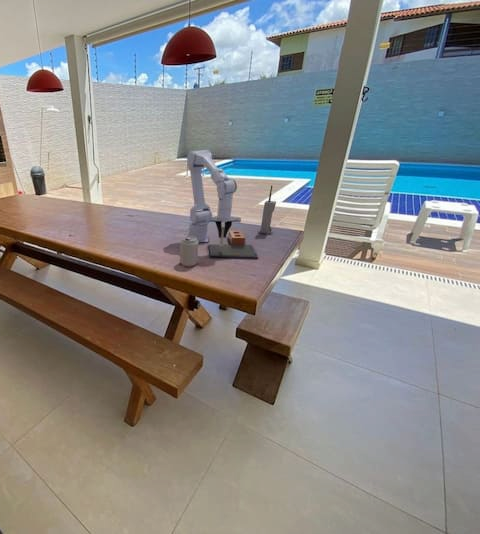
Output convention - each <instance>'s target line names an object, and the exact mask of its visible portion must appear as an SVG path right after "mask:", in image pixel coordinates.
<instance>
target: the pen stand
mask: <svg viewBox="0 0 480 534" xmlns="http://www.w3.org/2000/svg"><path fill="white" fill-rule="evenodd" d="M228 240H229V244H230V245H246V244H245V243H246V236H245V234H244V232H243V230H228Z"/></svg>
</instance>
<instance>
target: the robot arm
mask: <svg viewBox="0 0 480 534" xmlns="http://www.w3.org/2000/svg"><path fill="white" fill-rule="evenodd" d="M212 156H213V155H212V152H211V150H210V149H201V150H190V151H188V154H187V157H186V162H187V169H188V171H189V174H190V181H191V182H190V183H191V189H192V197H193V204H194V205H193V206H192V207H191V208H190V209H189V212H190V213H189V220H190V223H189V225H188V234H187V236H193V237H196V238H197V240H198V242H199V243H208V242H209V241H208V240H209V239H208V227H209V225H208V224H210V223H215V226H216V228H217V233H218V238H219V239H220V238H221V227H223V225H222V223H224V227H225V231H224V239H226V238H227V235H228V233H229V231H230V228H231V227H232V225H233V223H241V222H242V218H241V217H242V216H241V217H240V216H232V209H233V207H232V206H233V197H234V194H235V193H236V192H237V189H238V184H237V182H236V180H235V179H233V178H229V176H228V175H227V173H226V172H225V170H224V169H223V168H218V166H217V165H216V163H215V162H214V160H213V159H212V158H213V157H212ZM204 169H205V170H207V171H208V172H209V173H210V179H211V180H212V182H213V183H214V184H215V186H216V192H217V198H218V201H217V202H218V203H217V204H218V205H217V214H216V215H217V216H213V213H212V211H211V206H210V205H209V204H207V203H206V199H205V193H204V185H203V177H202V171H203V170H204Z"/></svg>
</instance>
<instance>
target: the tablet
mask: <svg viewBox="0 0 480 534" xmlns="http://www.w3.org/2000/svg"><path fill="white" fill-rule="evenodd" d="M219 245H220V244H212V243H211V244H210V243H209V244H208V250H209V255H210V258H211V259H246V260H247V259H248V260H249V259H250V260H251V259H252V260H258V258H259V257H258V254H257V253H256V251H255V249H254V247H253V244H245V245H231V244H223V247H222V248H220V246H219Z"/></svg>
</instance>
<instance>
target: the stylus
mask: <svg viewBox="0 0 480 534" xmlns="http://www.w3.org/2000/svg"><path fill="white" fill-rule="evenodd" d="M224 231H225V226H222V227H221V238H219V244H218V245H219V246H220V248H222V247H223V245H224V240H225V238H224Z"/></svg>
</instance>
